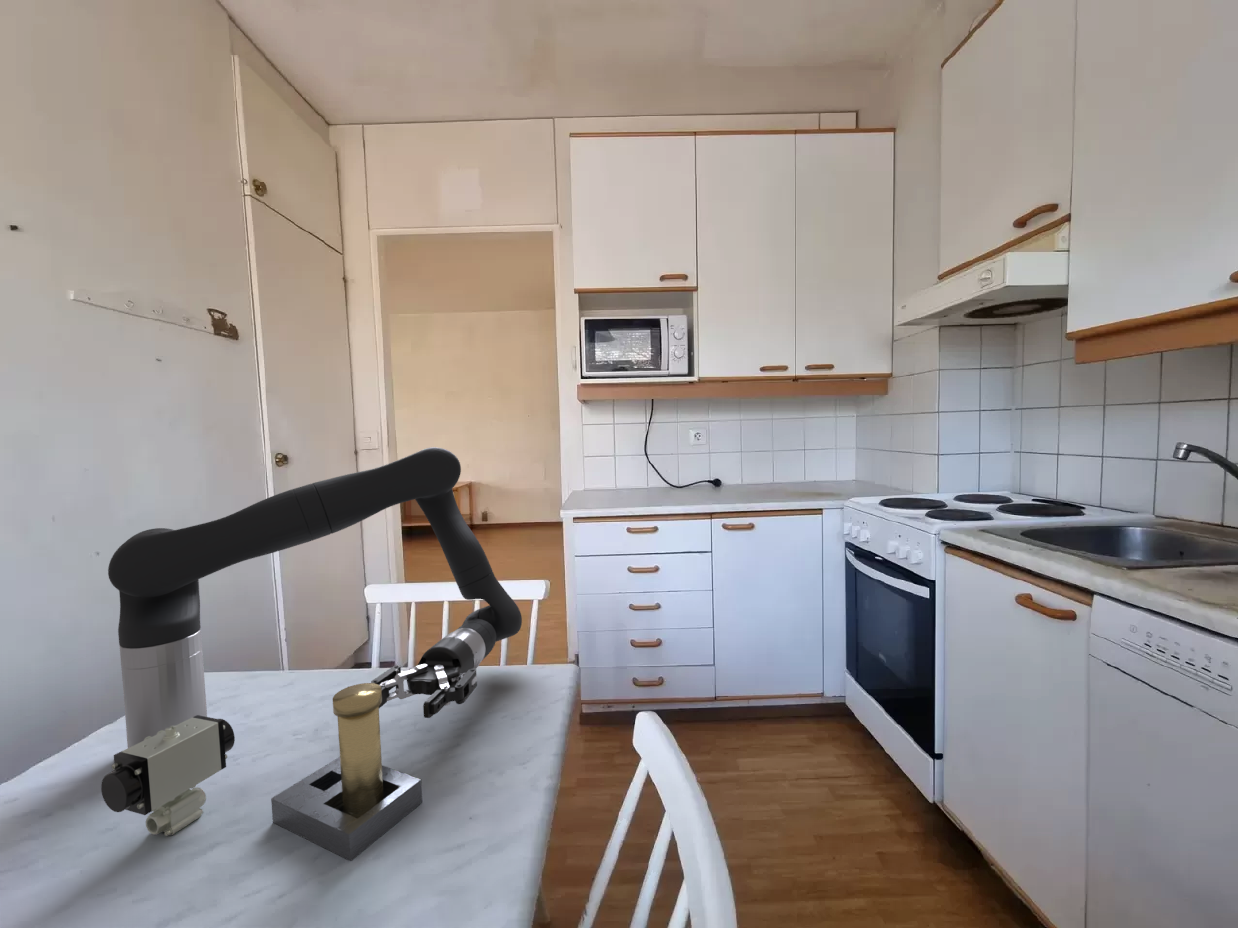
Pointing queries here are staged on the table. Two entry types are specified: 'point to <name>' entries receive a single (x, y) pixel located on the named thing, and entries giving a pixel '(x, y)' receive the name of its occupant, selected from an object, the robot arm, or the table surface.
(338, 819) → the plate
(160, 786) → the pneumatic valve
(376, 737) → the brass headed pin
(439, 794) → the table surface
